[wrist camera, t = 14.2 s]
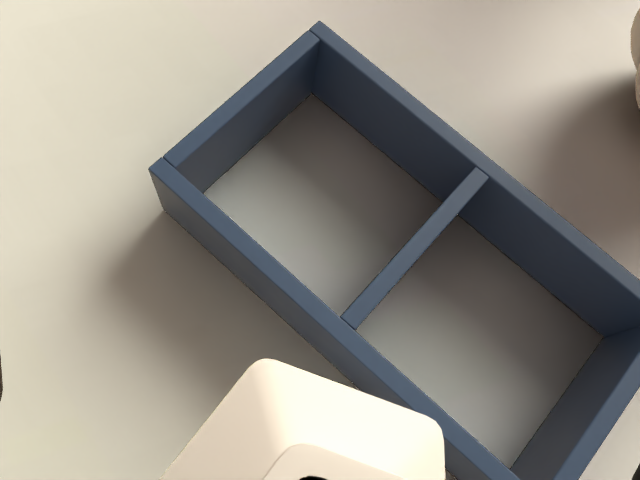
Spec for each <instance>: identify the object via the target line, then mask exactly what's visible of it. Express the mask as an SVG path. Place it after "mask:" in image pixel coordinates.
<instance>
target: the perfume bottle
mask: <svg viewBox="0 0 640 480" xmlns="http://www.w3.org/2000/svg"><path fill="white" fill-rule="evenodd" d="M159 480H445V457H444V439H443V434H442V429H441V428H440V426H439V425H438V424H437V422H436V421H435V420H433V419H431V418H429V417H428V416H426V415H423V414H420V413H418V412H415V411H412V410H410V409H407V408H404V407H401V406H399V405H396V404H393V403H391V402H388V401H385V400H383V399H380V398H377V397H374V396H372V395H369V394H366V393H364V392H361V391H358V390H356V389H353V388H350V387H347V386H345V385H342V384H339V383H337V382H334V381H331V380H329V379H326V378H323V377H320V376H318V375H315V374H312V373H310V372H307V371H304V370H301V369H299V368H296V367H293V366H291V365H288V364H285V363H283V362H280V361H277V360H273V359H267V358H265V359H261V360H258V361H256V362H255V363H253V364H252V365H251V366H250V367H249V368H248V369H247V370H246V372H245V373H244V374H243V375H242V377H241V378H240V379H239V380H238V382H237V383H236V384H235V385H234V387H233V388H232V389H231V390H230V392H229V393H228V394H227V395H226V397H225V398H224V399H223V400H222V401H221V403H220V404H219V405H218V406H217V408H216V409H215V410H214V411H213V413H212V414H211V415H210V416H209V418H208V419H207V420H206V421H205V423H204V424H203V425H202V426H201V428H200V429H199V430H198V431H197V433H196V434H195V435H194V436H193V438H192V439H191V440H190V441H189V443H188V444H187V445H186V446H185V448H184V449H183V450H182V451H181V453H180V454H179V455H178V456H177V458H176V459H175V460H174V461H173V463H172V464H171V465H170V466H169V468H168V469H167V470H166V471H165V473H164V474H163V475H162V476H161V478H160V479H159Z"/></svg>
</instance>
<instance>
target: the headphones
mask: <svg viewBox="0 0 640 480" xmlns="http://www.w3.org/2000/svg"><path fill="white" fill-rule="evenodd" d="M631 53H632V58H633V61H634V64H635V67H636V69H637V72H636V86H635V88H636V101H637V104H638V107H639V110H640V8H639V10H638V12H637V14H636V16H635V18H634V21H633V25H632V28H631Z"/></svg>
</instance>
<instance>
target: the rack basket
mask: <svg viewBox="0 0 640 480" xmlns="http://www.w3.org/2000/svg"><path fill="white" fill-rule="evenodd" d="M311 92H312V93H313V94H314V95H315V96H317V97H318V98H319V99H320V100H321V101H323V102H324V103H325V104H326V105H327V106H329V107H330V108H331V109H332V110H333V111H335V112H336V113H337V114H338V115H339V116H341V117H342V118H343V119H344V120H345V121H347V122H348V123H349V124H350V125H351V126H352V127H354V128H355V129H356V130H357V131H358V132H360V133H361V134H362V135H363V136H364V137H366V138H367V139H368V140H369V141H370V142H372V143H373V144H374V145H375V146H376V147H378V148H379V149H380V150H381V151H382V152H384V153H385V154H386V155H387V156H388V157H390V158H391V159H392V160H393V161H394V162H396V163H397V164H398V165H399V166H400V167H401V168H403V169H404V170H405V171H406V172H407V173H409V174H410V175H411V176H412V177H413V178H415V179H416V180H417V181H418V182H419V183H421V184H422V185H423V186H424V187H425V188H427V189H428V190H429V191H430V192H431V193H433V194H434V195H435V196H436V197H437V198H439V199H440V200H441V201H442V202H443V203H442V204H441V205H440V206H439V207H438V209H437V210H436V211H435V212H434V213H433V214H432V215H431V216H430V217H429V219H428V220H427V221H426V222H425V223H424V224H423V225H422V226H421V227H420V229H419V230H418V231H417V232H416V233H415V234H414V235H413V236H412V237H411V239H410V240H409V241H408V242H407V243H406V244H405V245H404V246H403V247H402V249H401V250H400V251H399V252H398V253H397V254H396V255H395V256H394V257H393V259H392V260H391V261H390V262H389V263H388V264H387V265H386V266H385V267H384V268H383V270H382V271H381V272H380V273H379V274H378V275H377V276H376V277H375V278H374V280H373V281H372V282H371V283H370V284H369V285H368V286H367V287H366V288H365V290H364V291H363V292H362V293H361V294H360V295H359V296H358V297H357V298H356V300H355V301H354V302H353V303H352V304H351V305H350V306H349V307H348V308H347V310H346V311H345V312H344V313H343V314H342V315H341V316H340V317H339V316H338V315H337V314H336V313H335V312H334V311H332V310H331V309H330V308H329V307H328V306H327V305H326V304H325V303H324V302H322V301H321V300H320V299H319V298H318V297H317V296H316V295H315V294H314V293H312V292H311V291H310V290H309V289H308V288H307V287H306V286H305V285H304V284H302V283H301V282H300V281H299V280H298V279H297V278H296V277H295V276H294V275H292V274H291V273H290V272H289V271H288V270H287V269H286V268H285V267H284V266H282V265H281V264H280V263H279V262H278V261H277V260H276V259H275V258H274V257H272V256H271V255H270V254H269V253H268V252H267V251H266V250H265V249H264V248H262V247H261V246H260V245H259V244H258V243H257V242H256V241H255V240H254V239H252V238H251V237H250V236H249V235H248V234H247V233H246V232H245V231H244V230H242V229H241V228H240V227H239V226H238V225H237V224H236V223H235V222H234V221H232V220H231V219H230V218H229V217H228V216H227V215H226V214H225V213H224V212H222V211H221V210H220V209H219V208H218V207H217V206H216V205H215V204H213V203H212V202H211V201H210V200H209V199H208V198H207V197H206V196H205V195H203V194H202V193H203V192H204V191H205V190H207V189H208V188H209V187H210V186H211V185H212V184H213V183H214V182H215V181H216V180H217V179H219V178H220V177H221V176H222V175H223V174H224V173H225V172H226V171H227V170H228V169H229V168H231V167H232V166H233V165H234V164H235V163H236V162H237V161H238V160H239V159H240V158H241V157H243V156H244V155H245V154H246V153H247V152H248V151H249V150H250V149H251V148H252V147H253V146H254V145H256V144H257V143H258V142H259V141H260V140H261V139H262V138H263V137H264V136H265V135H266V134H268V133H269V132H270V131H271V130H272V129H273V128H274V127H275V126H276V125H277V124H278V123H280V122H281V121H282V120H283V119H284V118H285V117H286V116H287V115H288V114H289V113H290V112H292V111H293V110H294V109H295V108H296V107H297V106H298V105H299V104H300V103H301V102H302V101H304V100H305V99H306V98H307V97H308V96H309V95H310V94H311ZM148 170H149V172H150V175H151V177H152V180H153V183H154V185H155V188H156V191H157V193H158V196H159V199H160V201H161V204H162V207H163V209H164V211H166V212H167V213H168V214H169V215H170V216H171V217H172V218H173V219H174V220H175V221H176V222H178V223H179V224H180V225H181V226H182V227H183V228H184V229H185V230H186V231H187V232H189V233H190V234H191V235H192V236H193V237H194V238H195V239H196V240H197V241H198V242H199V243H201V244H202V245H203V246H204V247H205V248H206V249H207V250H208V251H209V252H210V253H211V254H213V255H214V256H215V257H216V258H217V259H218V260H219V261H220V262H221V263H222V264H223V265H225V266H226V267H227V268H228V269H229V270H230V271H231V272H232V273H233V274H234V275H235V276H237V277H238V278H239V279H240V280H241V281H242V282H243V283H244V284H245V285H246V286H247V287H249V288H250V289H251V290H252V291H253V292H254V293H255V294H256V295H257V296H258V297H259V298H261V299H262V300H263V301H264V302H265V303H266V304H267V305H268V306H269V307H270V308H271V309H273V310H274V311H275V312H276V313H277V314H278V315H279V316H280V317H281V318H282V319H283V320H285V321H286V322H287V323H288V324H289V325H290V326H291V327H292V328H293V329H294V330H295V331H297V332H298V333H299V334H300V335H301V336H302V337H303V338H304V339H305V340H306V341H307V342H309V343H310V344H311V345H312V346H313V347H314V348H315V349H316V350H317V351H318V352H319V353H321V354H322V355H323V356H324V357H325V358H326V359H327V360H328V361H329V362H330V363H331V364H333V365H334V366H335V367H336V368H337V369H338V370H339V371H340V372H341V373H342V374H343V375H345V376H346V377H347V378H348V379H349V380H350V381H351V382H352V383H353V384H354V385H355V386H357V387H358V388H359V389H360V390H361V391H362V392H364V393H366V394H369V395H372V396H374V397H377V398H380V399H383V400H385V401H388V402H391V403H393V404H396V405H399V406H401V407H404V408H407V409H410V410H412V411H415V412H418V413H420V414H423V415H426V416H428V417H429V418H431V419H433V420H435V421H436V422H437V424H438V425H439V426H440V428H441V429H442V434H443V439H444V457H445V468H446V469H447V470H448V471H449V472H450V473H452V474H453V475H454V476H455V477H456V478H457V479H458V480H578V479H579V477H580V476H581V474H582V473H583V471H584V470H585V468H586V467H587V465H588V464H589V462H590V461H591V459H592V458H593V456H594V455H595V453H596V452H597V450H598V449H599V447H600V446H601V444H602V443H603V441H604V440H605V438H606V437H607V435H608V434H609V432H610V431H611V429H612V428H613V426H614V425H615V423H616V422H617V420H618V419H619V417H620V416H621V414H622V413H623V411H624V410H625V408H626V406H627V405H628V403H629V402H630V400H631V399H632V397H633V396H634V394H635V393H636V391H637V390H638V388H639V387H640V280H639V279H638V278H636V277H635V276H634V275H633V274H631V273H630V272H629V271H628V270H626V269H625V268H624V267H623V266H622V265H620V264H619V263H618V262H617V261H615V260H614V259H613V258H612V257H610V256H609V255H608V254H607V253H606V252H604V251H603V250H602V249H601V248H599V247H598V246H597V245H596V244H594V243H593V242H592V241H591V240H590V239H588V238H587V237H586V236H585V235H583V234H582V233H581V232H580V231H578V230H577V229H576V228H575V227H574V226H572V225H571V224H570V223H569V222H567V221H566V220H565V219H564V218H562V217H561V216H560V215H559V214H558V213H556V212H555V211H554V210H553V209H551V208H550V207H549V206H548V205H546V204H545V203H544V202H543V201H542V200H540V199H539V198H538V197H537V196H535V195H534V194H533V193H532V192H530V191H529V190H528V189H527V188H526V187H524V186H523V185H522V184H521V183H519V182H518V181H517V180H516V179H514V178H513V177H512V176H511V175H509V174H508V173H507V172H506V171H505V170H503V169H502V168H501V167H500V166H498V165H497V164H496V163H495V162H493V161H492V160H491V159H490V158H489V157H487V156H486V155H485V154H484V153H482V152H481V151H480V150H479V149H477V148H476V147H475V146H474V145H473V144H471V143H470V142H469V141H468V140H466V139H465V138H464V137H463V136H461V135H460V134H459V133H458V132H457V131H455V130H454V129H453V128H452V127H450V126H449V125H448V124H447V123H445V122H444V121H443V120H442V119H441V118H439V117H438V116H437V115H436V114H434V113H433V112H432V111H431V110H429V109H428V108H427V107H426V106H425V105H423V104H422V103H421V102H420V101H418V100H417V99H416V98H415V97H413V96H412V95H411V94H410V93H409V92H407V91H406V90H405V89H404V88H402V87H401V86H400V85H399V84H397V83H396V82H395V81H394V80H392V79H391V78H390V77H389V76H388V75H386V74H385V73H384V72H383V71H381V70H380V69H379V68H378V67H376V66H375V65H374V64H373V63H372V62H370V61H369V60H368V59H367V58H365V57H364V56H363V55H362V54H360V53H359V52H358V51H357V50H356V49H354V48H353V47H352V46H351V45H349V44H348V43H347V42H346V41H344V40H343V39H342V38H341V37H340V36H338V35H337V34H336V33H335V32H333V31H332V30H331V29H330V28H328V27H327V26H326V25H325V24H324V23H322V22H321V21H318V22H317V23H316V24H315V25H314V26H312V27H311V28H310V29H309V31H307V32H305V33H304V34H303V35H302V36H301V37H300V38H299V39H297V40H296V41H295V42H294V43H293V44H292V45H290V46H289V47H288V48H287V49H286V50H285V51H284V52H282V53H281V54H280V55H279V56H278V57H277V58H275V59H274V60H273V61H272V62H271V63H270V64H269V65H267V66H266V67H265V68H264V69H263V70H262V71H260V72H259V73H258V74H257V75H256V76H255V77H254V78H252V79H251V80H250V81H249V82H248V83H247V84H246V85H244V86H243V87H242V88H241V89H240V90H239V91H237V92H236V93H235V94H234V95H233V96H232V97H231V98H229V99H228V100H227V101H226V102H225V103H224V104H222V105H221V106H220V107H219V108H218V109H217V110H216V111H214V112H213V113H212V114H211V115H210V116H209V117H208V118H206V119H205V120H204V121H203V122H202V123H201V124H199V125H198V126H197V127H196V128H195V129H194V130H193V131H191V132H190V133H189V134H188V135H187V136H186V137H184V138H183V139H182V140H181V141H180V142H179V143H178V144H176V145H175V146H174V147H173V148H172V149H171V150H170V151H168V152H167V153H166V154H165V155H164V156H163V158H162V157H161V158H160V159H159V160H158V161H156V162H155V163H154V164H153V165H152V166H151V167H150V168H149V169H148ZM457 215H459V216H460V217H461V218H462V219H464V220H465V221H466V222H467V223H468V224H470V225H471V226H472V227H473V228H474V229H476V230H477V231H478V232H479V233H480V234H482V235H483V236H484V237H485V238H486V239H488V240H489V241H490V242H491V243H492V244H494V245H495V246H496V247H497V248H498V249H499V250H501V251H502V252H503V253H504V254H505V255H507V256H508V257H509V258H510V259H511V260H513V261H514V262H515V263H516V264H517V265H519V266H520V267H521V268H522V269H523V270H525V271H526V272H527V273H528V274H529V275H531V276H532V277H533V278H534V279H535V280H537V281H538V282H539V283H540V284H541V285H543V286H544V287H545V288H546V289H547V290H548V291H550V292H551V293H552V294H553V295H554V296H556V297H557V298H558V299H559V300H560V301H562V302H563V303H564V304H565V305H566V306H568V307H569V308H570V309H571V310H572V311H574V312H575V313H576V314H577V315H578V316H580V317H581V318H582V319H583V320H584V321H586V322H587V323H588V324H589V325H590V326H592V327H593V328H594V329H595V330H596V331H597V332H599V333H600V334H601V335H602V336H603V337H605V338H603V339H602V340H601V342H600V343H599V345H598V346H597V347H596V349H595V350H594V352H593V353H592V354H591V356H590V357H589V359H588V360H587V362H586V363H585V364H584V366H583V367H582V369H581V370H580V371H579V373H578V374H577V376H576V377H575V378H574V380H573V381H572V383H571V384H570V385H569V387H568V388H567V390H566V391H565V393H564V394H563V395H562V397H561V398H560V400H559V401H558V402H557V404H556V405H555V407H554V408H553V409H552V411H551V412H550V414H549V415H548V417H547V418H546V419H545V421H544V422H543V424H542V425H541V426H540V428H539V429H538V431H537V432H536V433H535V435H534V436H533V438H532V439H531V440H530V442H529V443H528V445H527V446H526V448H525V449H524V450H523V452H522V453H521V455H520V456H519V457H518V459H517V460H516V462H515V463H514V464H513V466H512V467H511V469H510V470H509V469H508V468H507V467H506V466H505V465H504V464H503V463H501V462H500V461H499V460H498V459H497V458H496V457H495V456H494V455H493V454H491V453H490V452H489V451H488V450H487V449H486V448H485V447H484V446H483V445H481V444H480V443H479V442H478V441H477V440H476V439H475V438H474V437H473V436H471V435H470V434H469V433H468V432H467V431H466V430H465V429H464V428H463V427H461V426H460V425H459V424H458V423H457V422H456V421H455V420H454V419H453V418H451V417H450V416H449V415H448V414H447V413H446V412H445V411H444V410H443V409H441V408H440V407H439V406H438V405H437V404H436V403H435V402H434V401H433V400H431V399H430V398H429V397H428V396H427V395H426V394H425V393H424V392H423V391H421V390H420V389H419V388H418V387H417V386H416V385H415V384H414V383H413V382H411V381H410V380H409V379H408V378H407V377H406V376H405V375H404V374H402V373H401V372H400V371H399V370H398V369H397V368H396V367H395V366H394V365H392V364H391V363H390V362H389V361H388V360H387V359H386V358H385V357H384V356H382V355H381V354H380V353H379V352H378V351H377V350H376V349H375V348H374V347H372V346H371V345H370V344H369V343H368V342H367V341H366V340H365V339H364V338H362V337H361V336H360V335H359V334H358V333H357V332H356V331H355V330H356V329H357V328H358V327H359V326H360V324H361V323H362V322H363V321H364V320H365V319H366V318H367V317H368V315H369V314H370V313H371V312H372V311H373V310H374V309H375V307H376V306H377V305H378V304H379V303H380V302H381V301H382V300H383V298H384V297H385V296H386V295H387V294H388V293H389V292H390V290H391V289H392V288H393V287H394V286H395V285H396V284H397V283H398V281H399V280H400V279H401V278H402V277H403V276H404V275H405V273H406V272H407V271H408V270H409V269H410V268H411V267H412V266H413V264H414V263H415V262H416V261H417V260H418V259H419V258H420V256H421V255H422V254H423V253H424V252H425V251H426V250H427V249H428V247H429V246H430V245H431V244H432V243H433V242H434V241H435V239H436V238H437V237H438V236H439V235H440V234H441V233H442V232H443V230H444V229H445V228H446V227H447V226H448V225H449V224H450V222H451V221H452V220H453V219H454V218H455V217H456V216H457Z"/></svg>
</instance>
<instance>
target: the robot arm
mask: <svg viewBox="0 0 640 480" xmlns="http://www.w3.org/2000/svg"><path fill="white" fill-rule="evenodd" d="M2 391H3V383H2V370H1V356H0V401H1V397H2ZM632 480H640V464H639V466H638V468H637V470H636V472H635V473H634V475H633V478H632Z"/></svg>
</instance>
